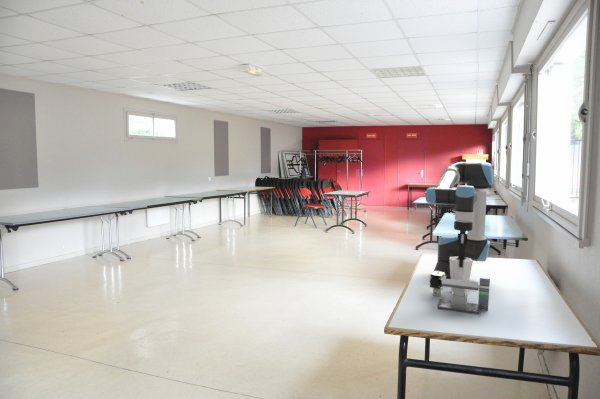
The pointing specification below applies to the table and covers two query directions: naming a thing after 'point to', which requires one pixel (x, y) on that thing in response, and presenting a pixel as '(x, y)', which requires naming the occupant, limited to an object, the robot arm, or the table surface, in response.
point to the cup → (456, 276)
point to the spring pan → (461, 285)
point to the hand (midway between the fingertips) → (460, 273)
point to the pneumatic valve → (437, 282)
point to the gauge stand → (461, 301)
